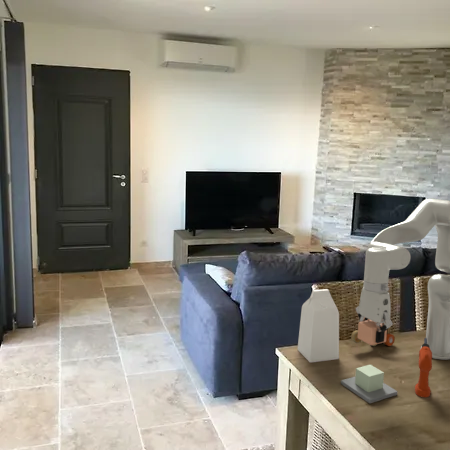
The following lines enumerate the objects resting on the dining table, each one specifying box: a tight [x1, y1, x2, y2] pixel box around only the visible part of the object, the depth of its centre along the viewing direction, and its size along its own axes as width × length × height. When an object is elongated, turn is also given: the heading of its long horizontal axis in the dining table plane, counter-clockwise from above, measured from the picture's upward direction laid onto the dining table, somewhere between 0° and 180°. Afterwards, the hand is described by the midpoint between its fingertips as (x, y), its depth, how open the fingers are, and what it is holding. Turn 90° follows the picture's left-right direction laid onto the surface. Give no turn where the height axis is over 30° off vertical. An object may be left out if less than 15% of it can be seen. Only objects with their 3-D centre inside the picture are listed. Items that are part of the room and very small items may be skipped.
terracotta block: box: [357, 320, 387, 346], centre depth 164 cm, size 6×6×6 cm
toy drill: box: [414, 337, 433, 398], centre depth 170 cm, size 5×19×15 cm, turn 159°
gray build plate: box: [340, 376, 398, 404], centre depth 168 cm, size 12×14×1 cm
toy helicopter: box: [350, 319, 396, 347], centre depth 200 cm, size 8×21×14 cm, turn 121°
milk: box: [297, 288, 340, 363], centre depth 191 cm, size 12×12×26 cm
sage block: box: [354, 364, 385, 392], centre depth 167 cm, size 6×6×6 cm
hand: (371, 337), depth 164 cm, fingers closed on terracotta block, 6 cm apart
